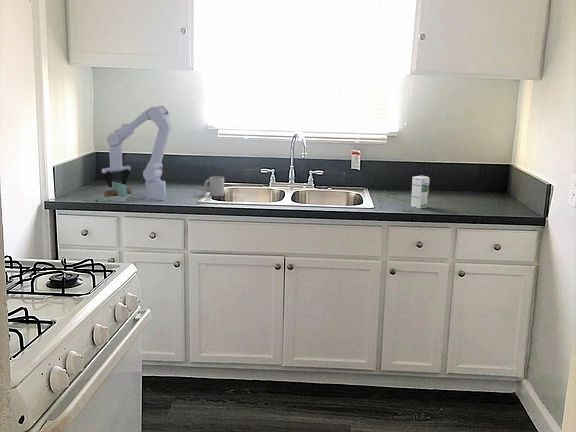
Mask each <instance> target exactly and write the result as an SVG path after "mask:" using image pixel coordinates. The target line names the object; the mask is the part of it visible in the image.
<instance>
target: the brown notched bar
mask: <svg viewBox="0 0 576 432" xmlns="http://www.w3.org/2000/svg"><path fill="white" fill-rule="evenodd" d="M131 189H132V188H131V187H127V194H131V193H132V192H131ZM102 193H103V194H104V197H110V196H117V193H116V190H108V189H107V190H103V192H102Z"/></svg>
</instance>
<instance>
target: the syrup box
mask: <svg viewBox="0 0 576 432" xmlns="http://www.w3.org/2000/svg"><path fill="white" fill-rule="evenodd" d="M411 183H412V184H411V201H410V207H412V208H415V207H416V208H415V209H425V208H429V198H430V196H429V195H430V177H429V176H426V175H417V176H412V181H411Z"/></svg>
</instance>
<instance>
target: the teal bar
mask: <svg viewBox="0 0 576 432" xmlns="http://www.w3.org/2000/svg"><path fill="white" fill-rule="evenodd" d="M127 188H128V187H127V184H126V185H124V184H122V183H120V182H116V181H115V182H114V181H112V188H110V187H108V186H107V190H116V193H117V196H121V197H127Z"/></svg>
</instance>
